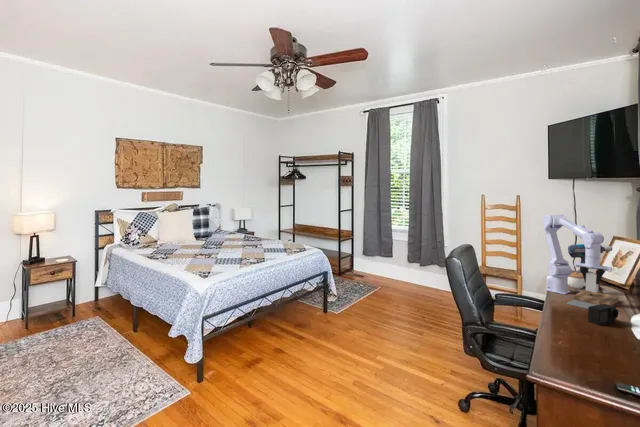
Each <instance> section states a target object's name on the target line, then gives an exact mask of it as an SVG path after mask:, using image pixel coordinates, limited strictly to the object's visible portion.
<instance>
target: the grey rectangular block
mask: <svg viewBox="0 0 640 427" xmlns="http://www.w3.org/2000/svg"><path fill="white" fill-rule="evenodd" d="M592 272H593V271H590V272H588V273H586V285H585V290H586V291H591V292H599V286H600V283H599V284H596V279H597V276H596V272H593V273H592Z"/></svg>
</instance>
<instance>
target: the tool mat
mask: <svg viewBox="0 0 640 427" xmlns="http://www.w3.org/2000/svg"><path fill="white" fill-rule="evenodd" d="M565 304H566V305H569V306H573V307H578V308H582V309H587V310H588V307H590V306H595V305H597V304H594V303H589V302H584V301H580V300H575V299H572V300H569V301H568V302H567V303H565Z"/></svg>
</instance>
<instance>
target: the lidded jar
mask: <svg viewBox="0 0 640 427" xmlns="http://www.w3.org/2000/svg"><path fill="white" fill-rule="evenodd" d="M577 271H578V270H576V271H574V272H573V271H572V273H571V275H569V277H568V287H570V286H571V287H570V288H572V287H574V288H573V289H583V288H584V287H586V282H585V281H584V277H583V275H582V273H578V272H577Z"/></svg>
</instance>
